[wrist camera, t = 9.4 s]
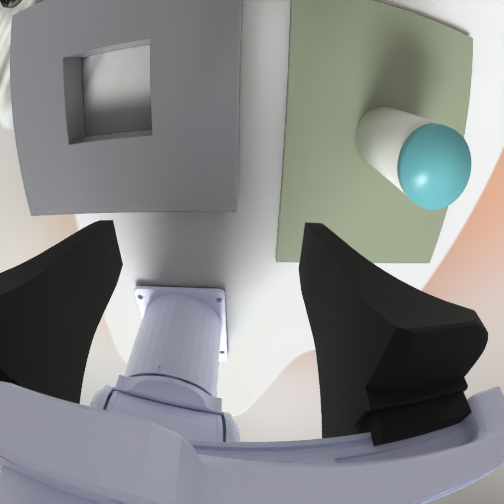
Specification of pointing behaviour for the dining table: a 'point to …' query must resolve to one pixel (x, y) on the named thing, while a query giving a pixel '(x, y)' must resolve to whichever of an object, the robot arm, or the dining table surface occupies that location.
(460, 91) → the mat
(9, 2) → the phone
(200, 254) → the dining table surface
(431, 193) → the cylinder
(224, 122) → the housing
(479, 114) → the dining table surface
